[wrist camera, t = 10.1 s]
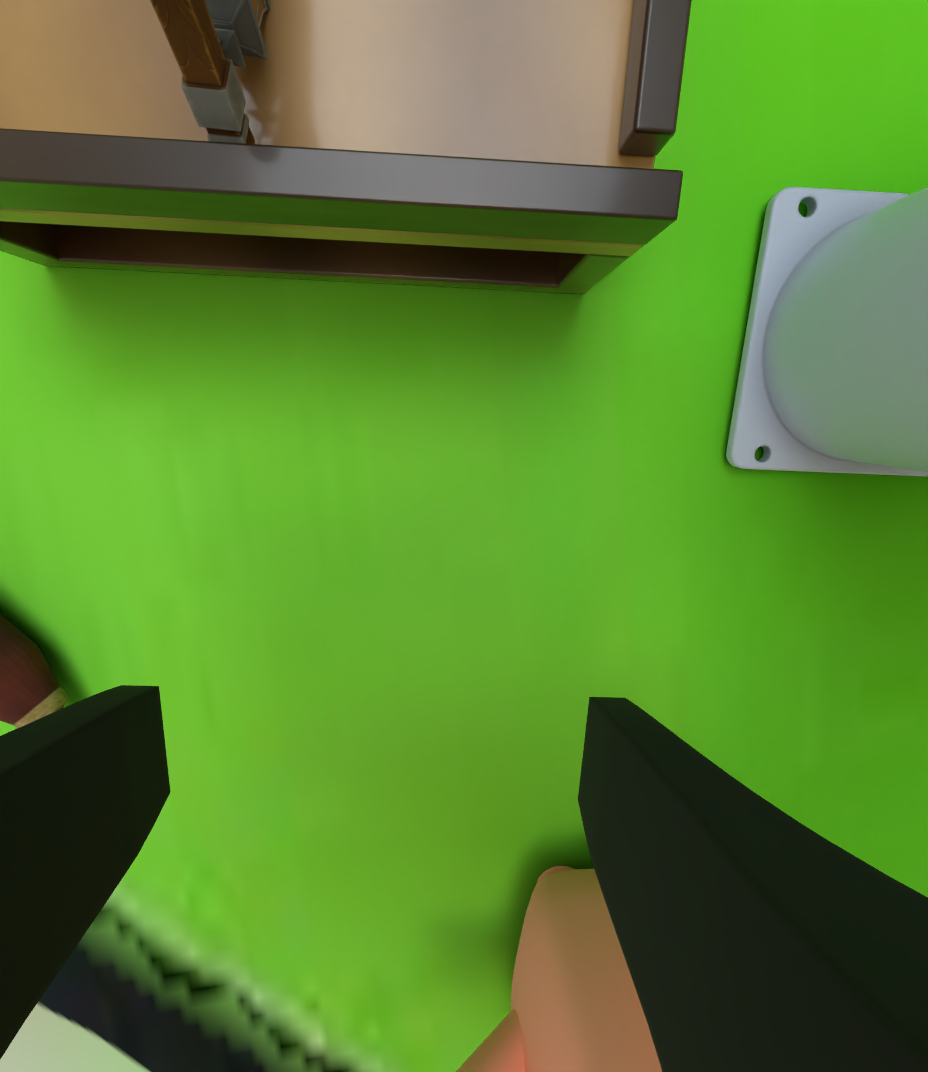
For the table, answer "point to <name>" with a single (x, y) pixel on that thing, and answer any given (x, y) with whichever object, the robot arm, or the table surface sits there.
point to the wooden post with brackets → (214, 58)
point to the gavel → (25, 679)
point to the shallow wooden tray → (348, 142)
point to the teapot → (569, 989)
